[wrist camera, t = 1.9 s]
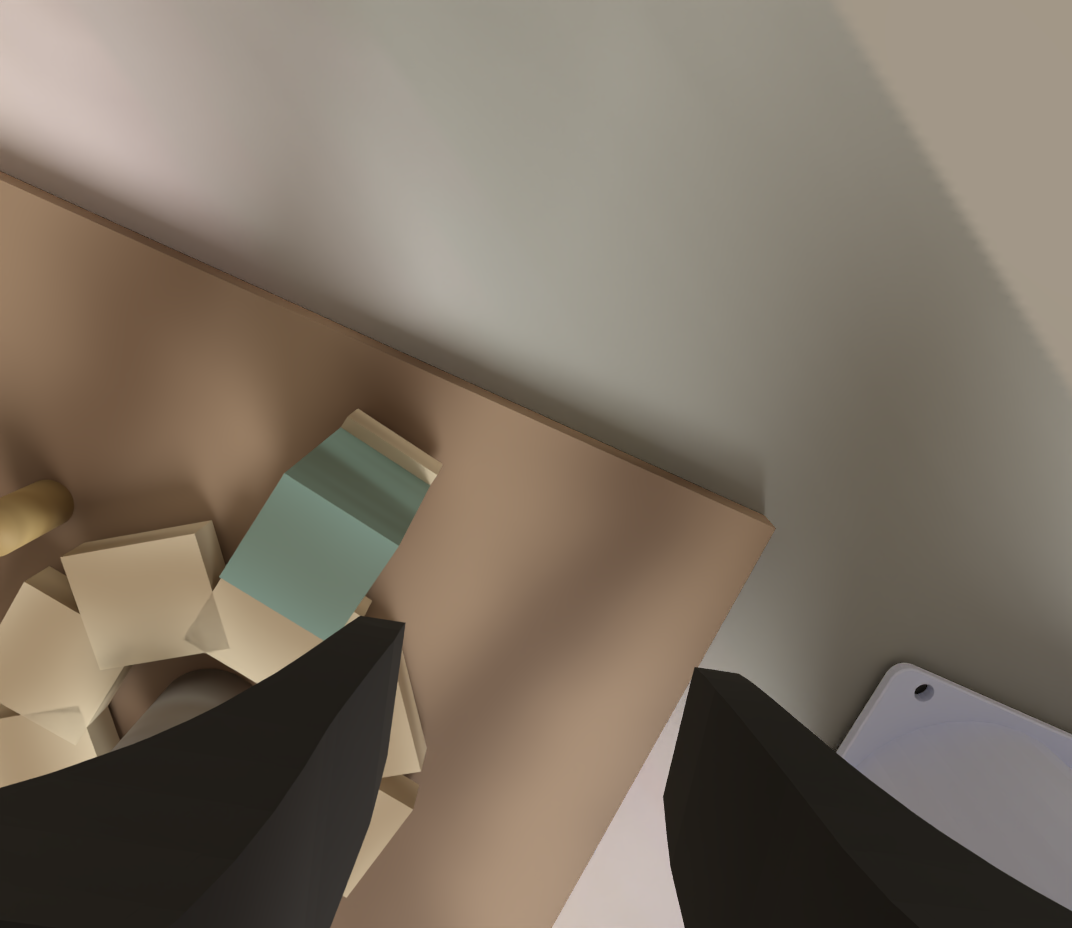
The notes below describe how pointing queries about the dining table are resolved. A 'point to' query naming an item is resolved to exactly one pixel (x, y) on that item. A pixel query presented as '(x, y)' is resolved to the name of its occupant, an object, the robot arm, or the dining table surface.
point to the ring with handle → (218, 609)
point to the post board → (411, 573)
